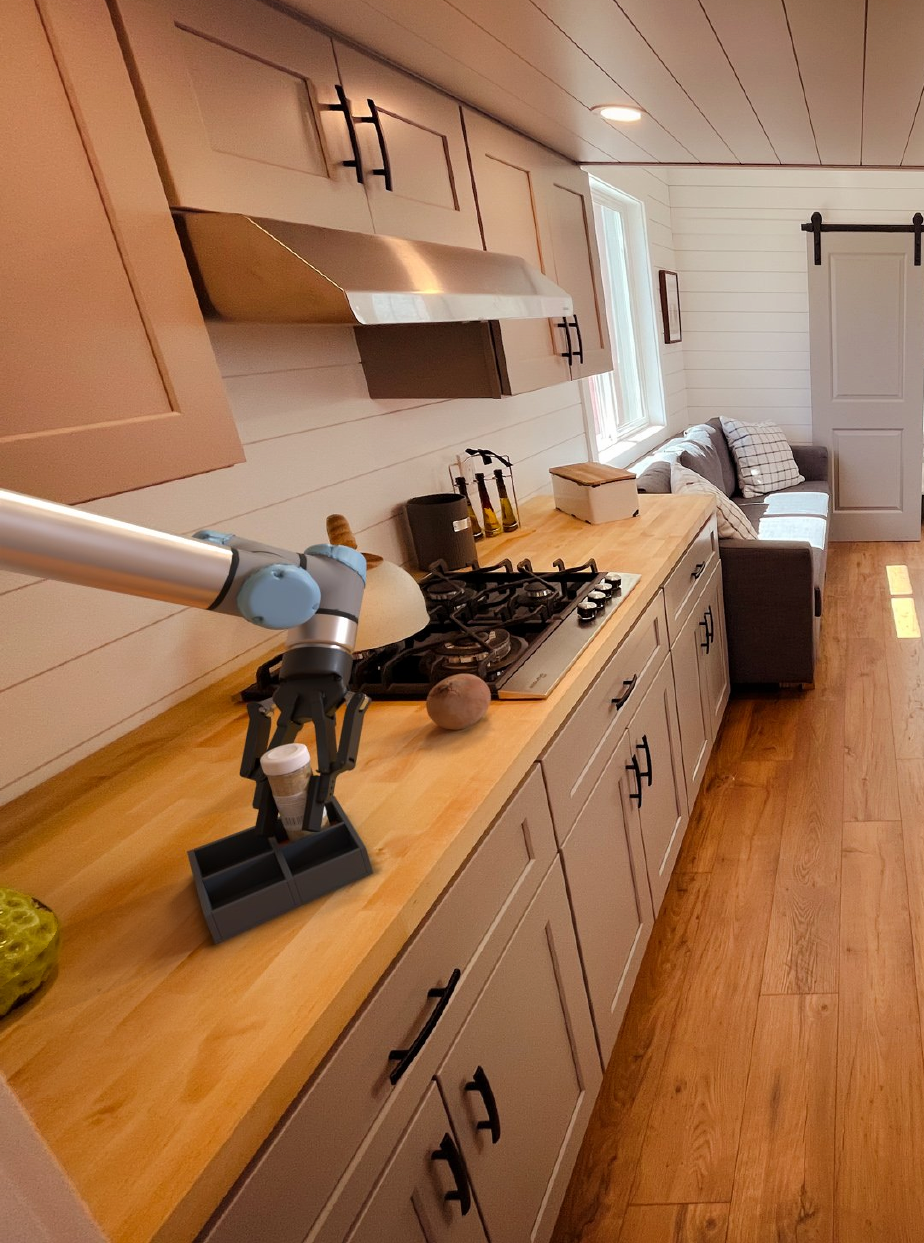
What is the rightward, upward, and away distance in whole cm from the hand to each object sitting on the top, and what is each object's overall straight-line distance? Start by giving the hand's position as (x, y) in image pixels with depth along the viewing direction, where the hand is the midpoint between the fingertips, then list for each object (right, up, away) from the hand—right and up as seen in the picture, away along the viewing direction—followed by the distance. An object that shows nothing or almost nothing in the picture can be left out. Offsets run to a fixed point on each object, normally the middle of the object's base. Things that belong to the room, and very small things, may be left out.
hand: (287, 833), depth 86 cm
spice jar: (-1, -3, +5) cm, 6 cm away
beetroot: (+2, +7, +34) cm, 35 cm away
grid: (-1, -5, +1) cm, 5 cm away
